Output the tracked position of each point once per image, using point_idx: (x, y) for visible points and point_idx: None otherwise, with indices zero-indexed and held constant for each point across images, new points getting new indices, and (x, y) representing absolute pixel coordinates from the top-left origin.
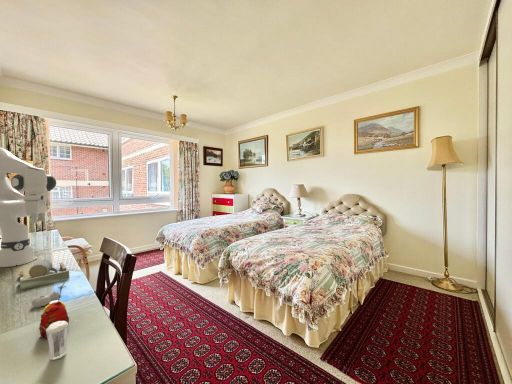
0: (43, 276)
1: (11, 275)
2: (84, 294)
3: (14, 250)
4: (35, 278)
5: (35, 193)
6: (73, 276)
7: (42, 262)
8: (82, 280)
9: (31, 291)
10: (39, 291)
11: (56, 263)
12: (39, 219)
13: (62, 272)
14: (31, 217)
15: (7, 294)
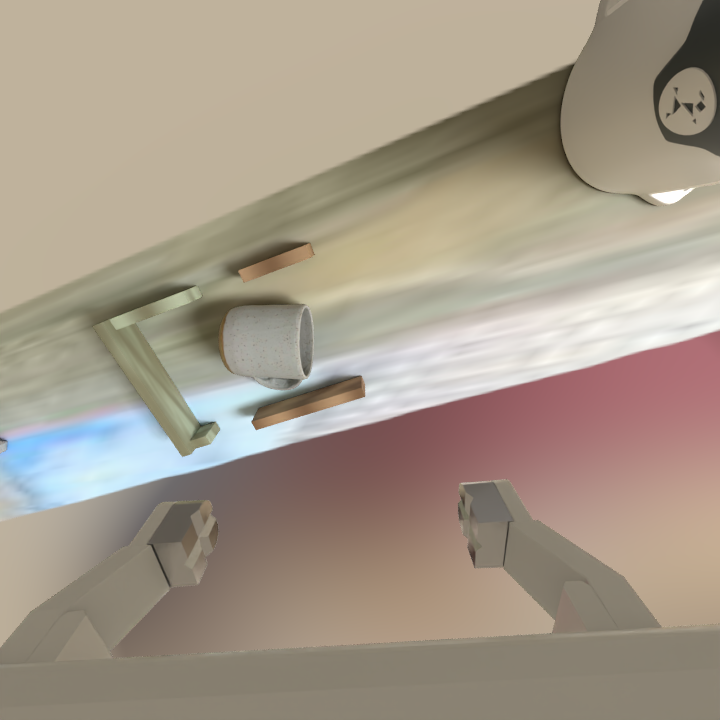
0: (136, 390)
1: (355, 189)
2: (37, 497)
3: (656, 82)
4: (121, 368)
5: None
6: (218, 443)
7: (256, 364)
8: (162, 475)
9: (97, 355)
10: (90, 380)
11: (466, 339)
12: (471, 516)
13: (171, 439)
14: (51, 600)
15: (86, 285)
